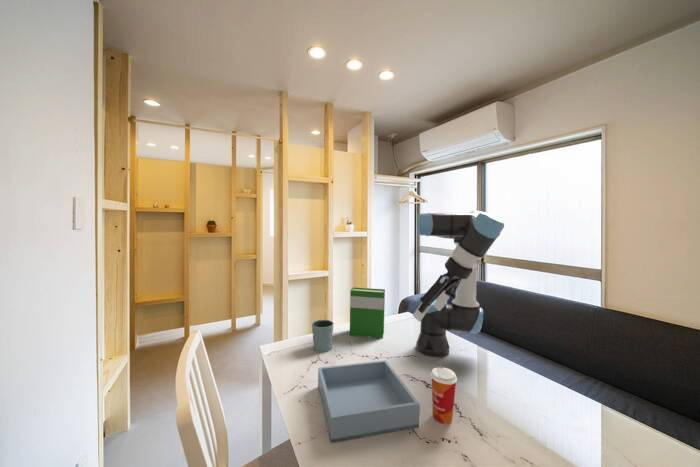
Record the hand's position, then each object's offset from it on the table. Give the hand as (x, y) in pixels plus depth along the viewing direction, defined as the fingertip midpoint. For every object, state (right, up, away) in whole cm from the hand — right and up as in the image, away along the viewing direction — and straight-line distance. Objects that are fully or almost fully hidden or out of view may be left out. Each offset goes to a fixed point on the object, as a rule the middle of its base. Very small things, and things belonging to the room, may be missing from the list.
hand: (427, 313), depth 89 cm
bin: (-21, -30, -1) cm, 36 cm away
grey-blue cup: (-38, -28, +39) cm, 62 cm away
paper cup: (+3, -31, -6) cm, 31 cm away
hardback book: (-16, -28, +57) cm, 66 cm away
